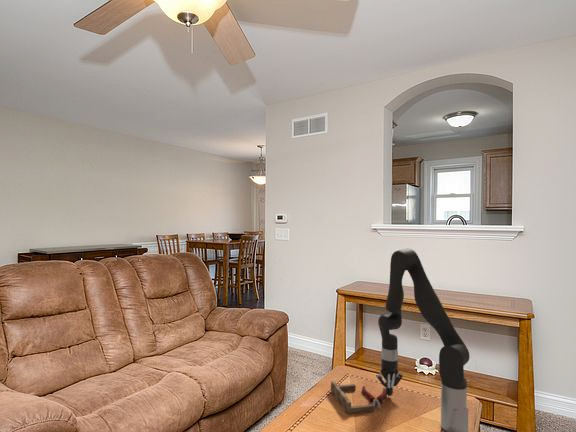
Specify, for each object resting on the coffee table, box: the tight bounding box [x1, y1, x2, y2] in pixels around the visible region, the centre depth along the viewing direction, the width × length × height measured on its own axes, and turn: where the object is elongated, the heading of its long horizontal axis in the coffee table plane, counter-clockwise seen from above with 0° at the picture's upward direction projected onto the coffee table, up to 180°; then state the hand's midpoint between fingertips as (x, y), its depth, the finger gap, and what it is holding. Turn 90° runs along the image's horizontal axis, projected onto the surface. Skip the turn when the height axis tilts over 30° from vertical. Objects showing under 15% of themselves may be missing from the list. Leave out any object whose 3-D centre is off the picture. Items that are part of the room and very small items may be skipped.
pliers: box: [361, 385, 388, 412], centre depth 163 cm, size 12×20×3 cm, turn 170°
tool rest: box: [330, 380, 375, 415], centre depth 161 cm, size 21×12×5 cm, turn 13°
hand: (389, 395), depth 166 cm, fingers closed
